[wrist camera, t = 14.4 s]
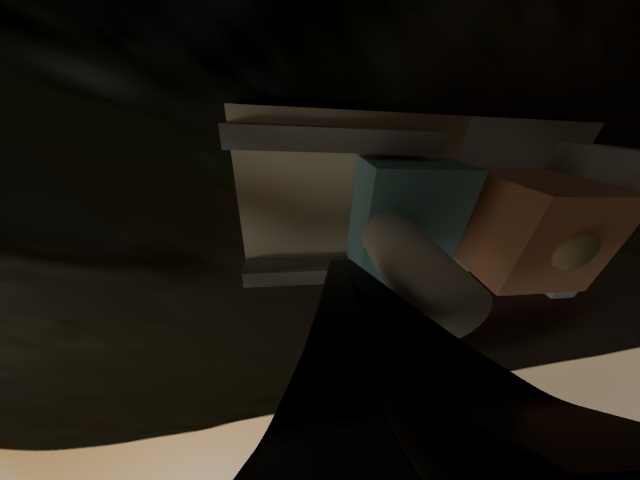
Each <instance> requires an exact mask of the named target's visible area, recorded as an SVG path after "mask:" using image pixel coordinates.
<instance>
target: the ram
mask: <svg viewBox="0 0 640 480" xmlns="http://www.w3.org/2000/svg"><path fill="white" fill-rule="evenodd" d="M488 172H489V171H488V170H485V169H482V168H479V167H476V166H472V165H469V164H466V163H463V162H460V161H457V160H454V159H451V158H447V157H410V156H373V155H358V156H357V164H356V173H355V181H354V189H353V198H352V206H351V214H350V223H349V231H348V239H347V248H346V255H347V257H348V259H350V260H352V261H353V262H355V263H356V264H358V265H359V266H360V267H362V268H363V269H364V270H366V271H367V272H368V273H370V274H371V275H372V276H374V277H375V278H377V279H378V280H379V281H381V282H382V283H384V284H385V285H386V286H387V287H389V288H390V289H391V290H393V291H394V292H395V293H397V294H398V295H400V296H401V297H402V298H404V299H405V300H406V301H408V302H409V303H410V304H412V305H413V306H414V307H416V308H417V309H418V310H420V311H421V312H423V313H424V315H427V316H428V317H429V318H431V319H432V320H433V321H435V322H436V323H438V324H439V325H440V326H442V327H443V328H445V329H446V330H447V331H449V332H450V333H452V334H453V335H455V336H456V337H458V338H461V337H463V336H465V335H467V334H469V333H470V332H472V331H473V330H475V329H476V328H477V327H478V326H480V325H481V324H482V323H483V321H484V320H485V319H486V318H487V316H488V315H489V313H490V311H491V308H492V297H491V295H490V293H489V292H488V291H487V290H486V289H485V288H484V287H483V286H482V285H481V284H480V283H479V282H478V281H476V280H475V279H474V278H473V277H472V276H471V275H470V274H469V273H468V272H467V271H466V270H465V269H464V268H462V267H461V266H460V265H459V264H458V263H457V262H456V261H455V260H454V256H455V254H456V251H457V249H458V246H459V244H460V241H461V239H462V236H463V234H464V231H465V229H466V226H467V224H468V221H469V219H470V216H471V214H472V211H473V209H474V206H475V204H476V201H477V199H478V196H479V194H480V191H481V189H482V187H483V184H484V182H485V179H486V177H487V174H488Z"/></svg>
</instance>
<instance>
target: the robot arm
mask: <svg viewBox="0 0 640 480" xmlns="http://www.w3.org/2000/svg"><path fill="white" fill-rule="evenodd" d="M233 480H640V422H638V421H634V420H630V419H627V418H623V417H619V416H615V415H611V414H608V413H604V412H600V411H597V410H593V409H589V408H585V407H582V406H578V405H574V404H572V403H569V402H566V401H563V400H561V399H559V398H556V397H554V396H552V395H549V394H548V393H546V392H544V391H542V390H540V389H538V388H536V387H535V386H533V385H531V384H530V383H528V382H526V381H525V380H523V379H521V378H520V377H518V376H517V375H515V374H514V373H512V372H511V371H509V370H507V369H506V368H504V367H503V366H501V365H500V364H498V363H496V362H495V361H493V360H492V359H490V358H489V357H487V356H485V355H484V354H482V353H481V352H479V351H478V350H476V349H474V348H473V347H471V346H470V345H468V344H467V343H465V342H464V341H462V340H461V339H459V338H458V337H456V336H455V335H453V334H452V333H450V332H449V331H447V330H446V329H445V328H443V327H442V326H440V325H439V324H438V323H436V322H435V321H433V320H432V319H431V318H429V317H428V316H427V315H424V313H423V312H421V311H420V310H418V309H417V308H416V307H414V306H413V305H412V304H410V303H409V302H408V301H406V300H405V299H404V298H402V297H401V296H400V295H398V294H397V293H395V292H394V291H393V290H391V289H390V288H389V287H387V286H386V285H385V284H383V283H382V282H381V281H379V280H378V279H377V278H375V277H374V276H372V275H371V274H370V273H368V272H367V271H366V270H364V269H363V268H362V267H360V266H359V265H358V264H356V263H355V262H353V261H352V260H350V259H342V260H330V263H329V266H328V270H327V274H326V277H325V281H324V284H323V288H322V291H321V295H320V298H319V302H318V305H317V309H316V312H315V316H314V319H313V323H312V326H311V330H310V333H309V336H308V339H307V342H306V345H305V348H304V351H303V353H302V355H301V358H300V360H299V363H298V365H297V367H296V369H295V372H294V374H293V376H292V378H291V380H290V382H289V385H288V387H287V389H286V391H285V393H284V395H283V398H282V400H281V402H280V404H279V406H278V409H277V411H276V413H275V415H274V417H273V419H272V421H271V423H270V425H269V427H268V429H267V431H266V432H265V434H264V436H263V438H262V439H261V441H260V443H259V444H258V446H257V448H256V449H255V451H254V452H253V453H252V455H251V456H250V457H249V459H248V460H247V461H246V463H245V464H244V466H243V467H242V468H241V470H240V471H239V472H238V474H237V475H236V477H235V478H234V479H233Z"/></svg>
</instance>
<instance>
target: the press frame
mask: <svg viewBox="0 0 640 480" xmlns="http://www.w3.org/2000/svg"><path fill="white" fill-rule="evenodd" d="M224 105H225V113H226V120H227V121H225V122H221V123H218V126H219V132H220V139H221V145H222V150H231V156H232V163H233V170H234V177H235V184H236V191H237V199H238V206H239V213H240V220H241V227H242V234H243V242H244V249H245V256H246V260H245V264H244V268H243V271H242V279H243V286H244V288H245V287H268V286H290V285H313V284H324V281H325V277H326V274H327V270H328V266H329V263H330V260H342V259H348V257H347V255H346V248H347V239H348V231H349V223H350V214H351V206H352V198H353V189H354V181H355V173H356V164H357V156H358V155H373V156H410V157H447V158H451V159H454V160H457V161H460V162H463V163H466V164H469V165H472V166H476V167H490V168H537V169H547V170H551V171H555V172H559V173H563V174H567V175H572V176H576V177H580V178H584V179H588V180H592V181H596V182H600V183H604V184H609V185H613V186H617V187H621V188H625V189H629V190H633V191H637V192H640V149H634V148H626V147H618V146H609V145H601V144H593V142H594V140H595V138H596V137H597V135H598V133H599V131H600V130H601V128H602V126H603V125H604V123H595V122H576V121H557V120H537V119H518V118H498V117H479V116H460V115H440V114H421V113H401V112H382V111H363V110H343V109H324V108H304V107H285V106H266V105H246V104H227V103H224ZM454 260H455V261H456V262H457V263H458V264H459V265H460V266H461V267H462V268H464V269H465V270H466V271H469V270H468V269H467V268H466V267H465V266H464V265H463V264H461V263H460V262H459V261H458V260H457V259H456V258H455V257H454ZM576 293H577V292H560V293H544V294H546V295H547V296H548V297H550V298H551V299H555V298H572V297H574V296H575V295H576Z"/></svg>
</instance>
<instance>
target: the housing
mask: <svg viewBox="0 0 640 480" xmlns="http://www.w3.org/2000/svg"><path fill="white" fill-rule="evenodd" d="M479 168H482V169H485V170H488V171H489V172H488V174H487V177H486V179H485V182H484V184H483V187H482V189H481V191H480V194H479V196H478V199H477V201H476V204H475V206H474V209H473V211H472V214H471V216H470V219H469V221H468V224H467V226H466V229H465V231H464V234H463V236H462V239H461V241H460V244H459V246H458V249H457V251H456V254H455V256H454V257H455V258H456V259H457V260H458V261H459V262H460V263H461V264H463V265H464V266H465V267H466V268H467V269H468V270H469V271H470V272H471V273H472V274H474V275H475V276H476V277H477V278H478V279H479V280H480V281H481V282H482V283H483V284H485V285H486V286H487V287H488V288H489V289H490V290H491V291H492V292H493V293H494V294H496V295H497V296H506V295H524V294H542V293H560V292H578V291H585V290H586V289H587V288H588V287H589V285H590V284H591V283H592V282H593V281H594V279H595V278H596V277H597V276H598V274H599V273H600V272H601V271H602V269H603V268H604V267H605V266H606V265H607V263H608V262H609V261H610V260H611V258H612V257H613V256H614V255H615V254H616V252H617V251H618V250H619V249H620V247H621V246H622V245H623V244H624V242H625V241H626V240H627V239H628V238H629V236H630V235H631V234H632V233H633V231H634V230H635V229H636V228H637V227H638V225H639V224H640V192H637V191H633V190H629V189H625V188H621V187H617V186H613V185H609V184H604V183H600V182H596V181H592V180H588V179H584V178H580V177H576V176H572V175H567V174H563V173H559V172H555V171H551V170H547V169H537V168H490V167H479Z"/></svg>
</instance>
